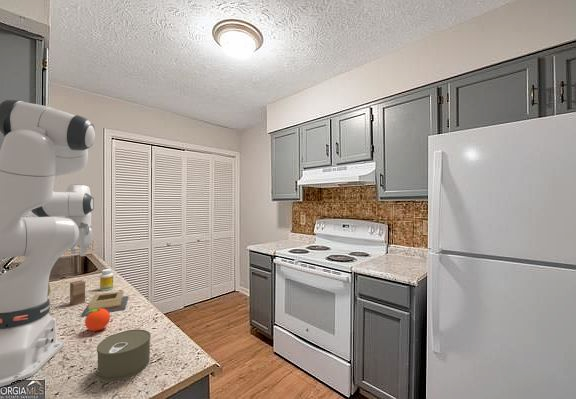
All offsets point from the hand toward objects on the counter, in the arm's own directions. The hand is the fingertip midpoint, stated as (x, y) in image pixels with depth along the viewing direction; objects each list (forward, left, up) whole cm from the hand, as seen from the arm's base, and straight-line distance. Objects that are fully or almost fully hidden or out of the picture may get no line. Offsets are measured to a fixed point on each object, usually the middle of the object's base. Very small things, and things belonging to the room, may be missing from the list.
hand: (78, 254), depth 110 cm
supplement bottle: (+16, -8, -21) cm, 28 cm away
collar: (-10, -12, -21) cm, 26 cm away
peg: (0, 0, -21) cm, 21 cm away
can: (-59, -23, -21) cm, 67 cm away
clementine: (-32, -12, -21) cm, 40 cm away
